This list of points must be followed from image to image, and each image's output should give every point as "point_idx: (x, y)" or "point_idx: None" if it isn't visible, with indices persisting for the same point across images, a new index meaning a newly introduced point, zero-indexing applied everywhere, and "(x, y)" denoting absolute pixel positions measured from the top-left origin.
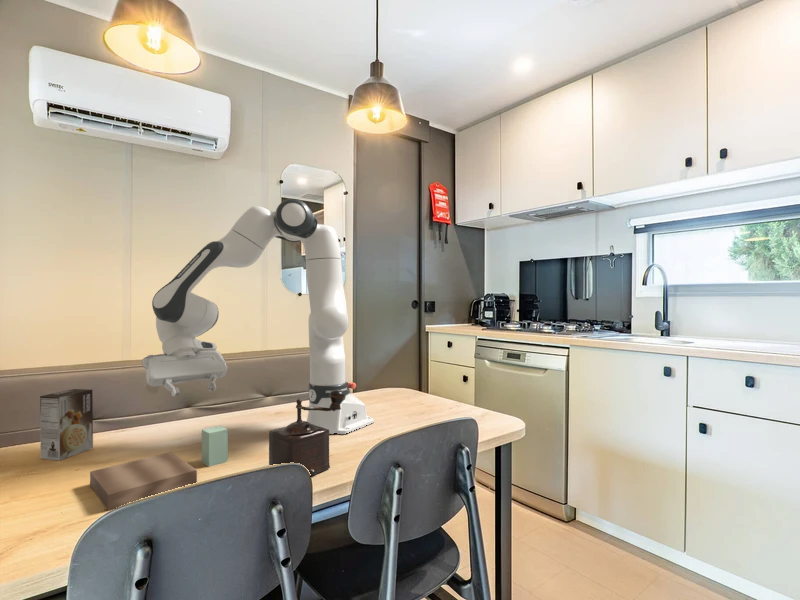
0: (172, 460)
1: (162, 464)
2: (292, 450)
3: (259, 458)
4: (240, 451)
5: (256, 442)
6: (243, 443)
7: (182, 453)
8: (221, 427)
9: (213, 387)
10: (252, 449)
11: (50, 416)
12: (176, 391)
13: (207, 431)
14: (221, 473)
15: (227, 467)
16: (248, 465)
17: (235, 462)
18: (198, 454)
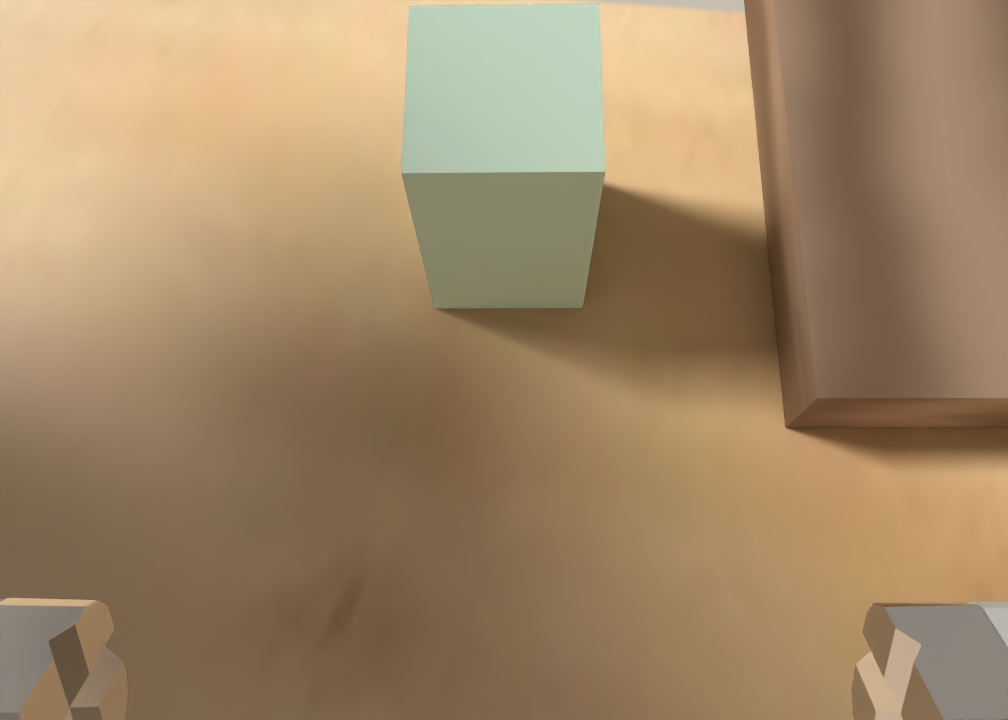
0: (854, 186)
1: (935, 154)
2: None
3: (252, 76)
4: (258, 307)
5: (31, 421)
6: (120, 485)
7: (632, 644)
8: (425, 96)
9: (37, 603)
10: (168, 280)
11: None
12: (971, 614)
13: (588, 68)
14: None
15: None
16: (376, 19)
17: None
18: (535, 501)
